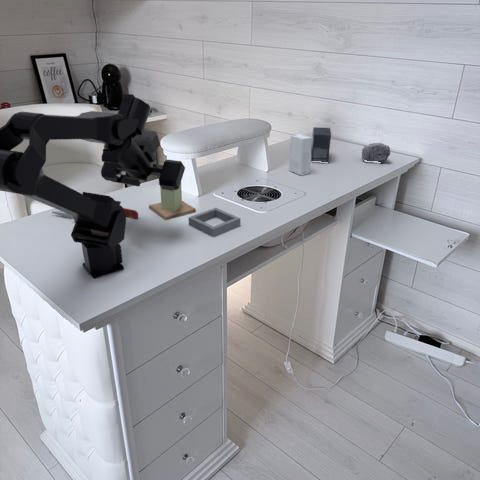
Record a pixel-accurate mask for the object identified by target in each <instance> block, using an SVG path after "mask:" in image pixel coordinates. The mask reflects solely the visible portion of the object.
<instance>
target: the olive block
mask: <svg viewBox="0 0 480 480" xmlns="http://www.w3.org/2000/svg"><path fill="white" fill-rule="evenodd" d="M159 187H160V203H161V206H162V209H166V210H172V211H176V210H178V209H179V208H180V207H181V206H182V201H183V193H182V183H181V184H180V187H179V189H177V190H174V192H173V191H169V190H165V189H162V187H161V186H160V185H159Z"/></svg>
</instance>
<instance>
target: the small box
mask: <svg viewBox="0 0 480 480" xmlns="http://www.w3.org/2000/svg"><path fill="white" fill-rule="evenodd" d="M331 132H332V130H331V128H330V127H313V128H312V134H311V135H312V136H311V138H312V146H311V160H310V162H311V161H321V162H328V163H329V160H330V159H329V158H330V149H331V139H332V133H331Z"/></svg>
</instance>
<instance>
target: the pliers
mask: <svg viewBox="0 0 480 480" xmlns="http://www.w3.org/2000/svg"><path fill="white" fill-rule="evenodd" d="M123 208H124V212H125V214H126V218H129V219H134V220H138V218H139V212H138V211H137V210H135V209H131V208H125V207H123ZM51 213H52V214H54V215H57V216H61V217H63V218H64V217H65V218H67V219H72V220H74V224H75V223H76V221H75V217H74V216H72V215H70V214H67V213H65V212H62V211H60V210H56V211H55V210H53V211H52V210H51ZM91 231H96V230H91ZM96 232H102V231H96ZM102 233H107V232H102ZM107 234H109V233H107Z"/></svg>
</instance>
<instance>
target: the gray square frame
mask: <svg viewBox="0 0 480 480" xmlns="http://www.w3.org/2000/svg"><path fill="white" fill-rule="evenodd" d="M214 218H216V219H219V220H221V221H223V222H222V223H219V224H216V225H214V226H213V225H211V224H210V223H207V222H206V221H209V220H211V219H214ZM188 225H189V226H191V227H192V228H195V229H196V230H199V231H201V232H203V233H205V234H206V235H209V236H210V237H212V238H214V237H217V236H220V235H221V234H224V233H226V232H229V231H231V230H233V229H236V228H238V227H240V226H241V217H238V216H236V215H233V214H231V213H229V212H227V211H225V210H222V209H220V208H218V207H214V208H211V209H207V210H205V211H202V212H200V213H197V214H193V215H191V216H188Z"/></svg>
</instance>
